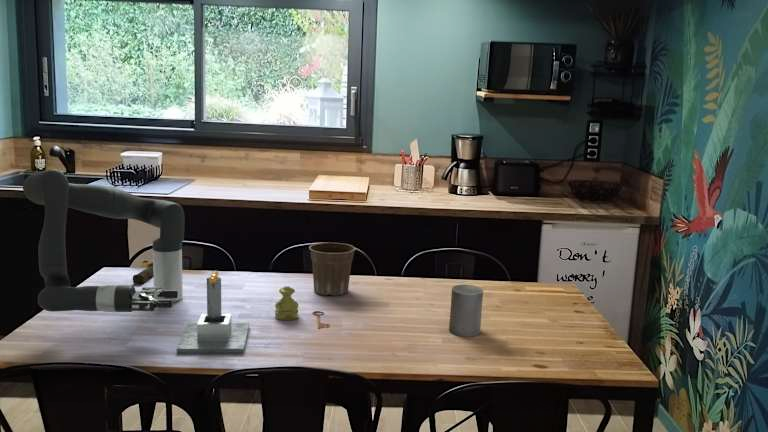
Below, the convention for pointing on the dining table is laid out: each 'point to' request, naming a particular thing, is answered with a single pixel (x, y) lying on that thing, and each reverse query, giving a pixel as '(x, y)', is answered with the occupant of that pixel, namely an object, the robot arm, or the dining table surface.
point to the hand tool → (143, 275)
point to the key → (319, 320)
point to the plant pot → (331, 267)
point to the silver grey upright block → (214, 298)
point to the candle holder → (214, 337)
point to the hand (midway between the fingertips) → (174, 298)
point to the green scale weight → (286, 305)
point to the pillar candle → (466, 310)
